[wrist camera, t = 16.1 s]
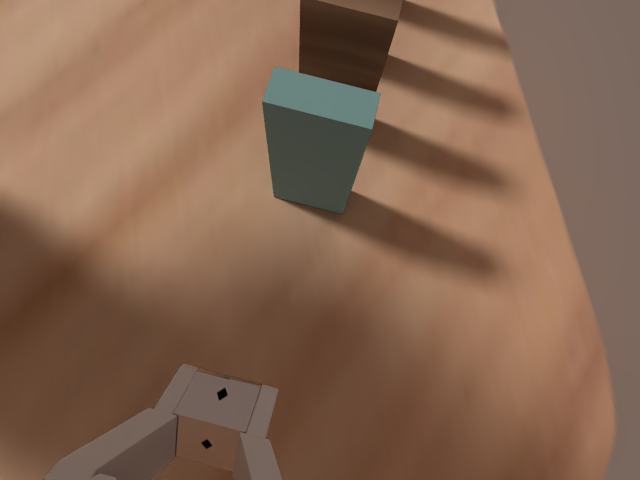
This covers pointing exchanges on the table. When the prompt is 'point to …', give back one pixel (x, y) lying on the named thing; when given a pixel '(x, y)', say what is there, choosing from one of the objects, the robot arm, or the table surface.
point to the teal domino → (316, 137)
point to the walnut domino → (347, 39)
